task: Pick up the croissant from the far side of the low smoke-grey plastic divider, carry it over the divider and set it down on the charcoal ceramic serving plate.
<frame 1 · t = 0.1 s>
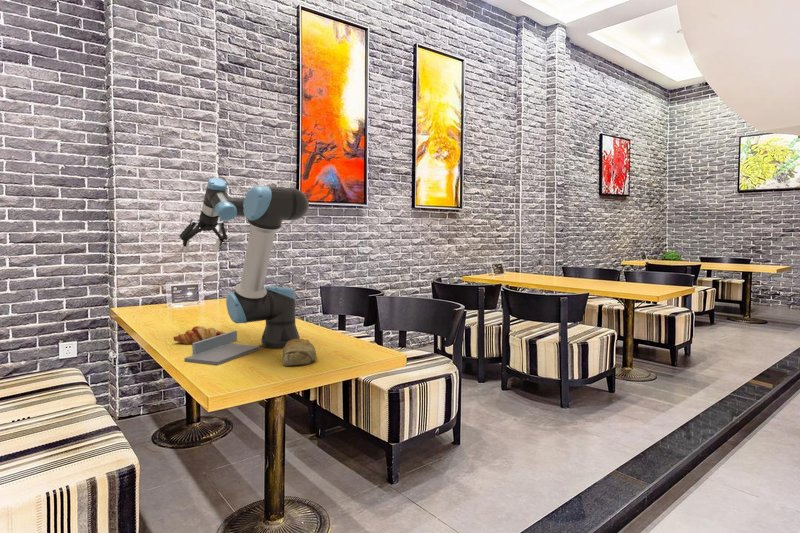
hand: (200, 251, 222), 36 cm above the table, tool tilted 35°, fingers open, 13 cm apart
serving plate: (224, 354, 181), on the table
pastry: (298, 362, 173), on the table
croissant: (202, 342, 201), on the table
divider: (216, 346, 193), on the table
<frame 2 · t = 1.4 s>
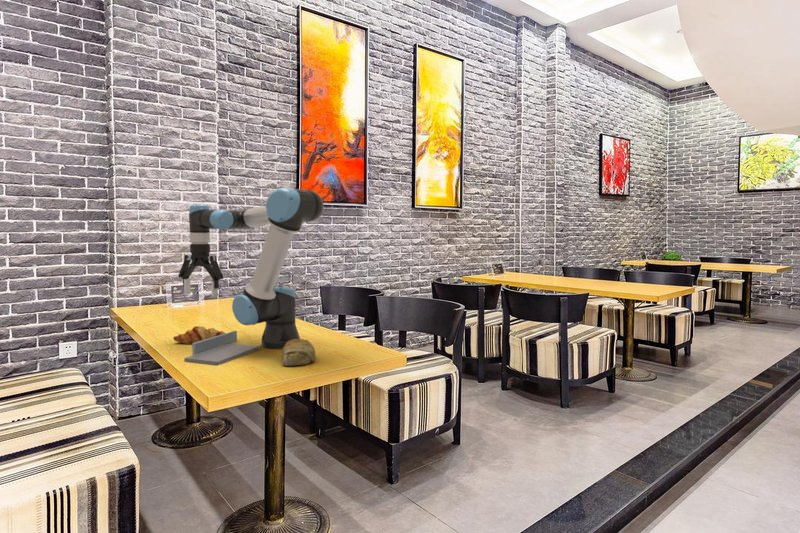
hand: (201, 295, 200), 19 cm above the table, tool pointing down, fingers open, 13 cm apart
nothing on the table moved.
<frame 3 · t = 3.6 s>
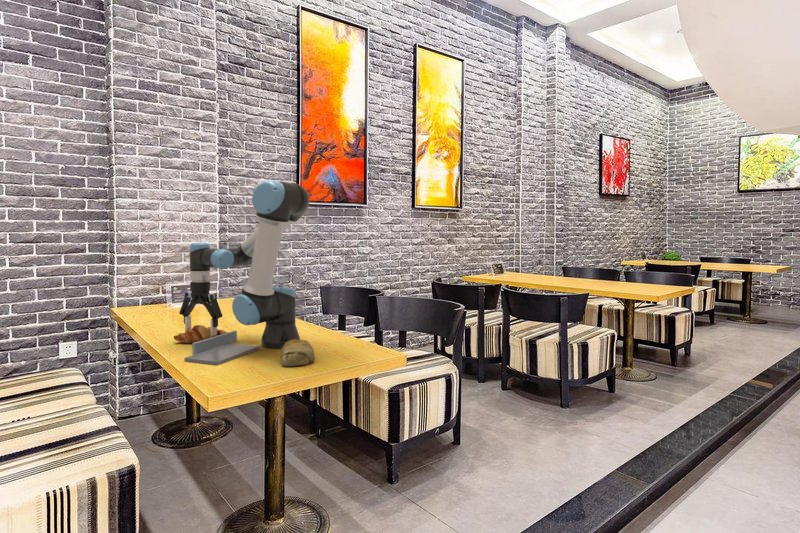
hand: (200, 333, 201), 3 cm above the table, tool pointing down, fingers closed on croissant, 12 cm apart
croissant: (202, 341, 202), on the table, touching gripper
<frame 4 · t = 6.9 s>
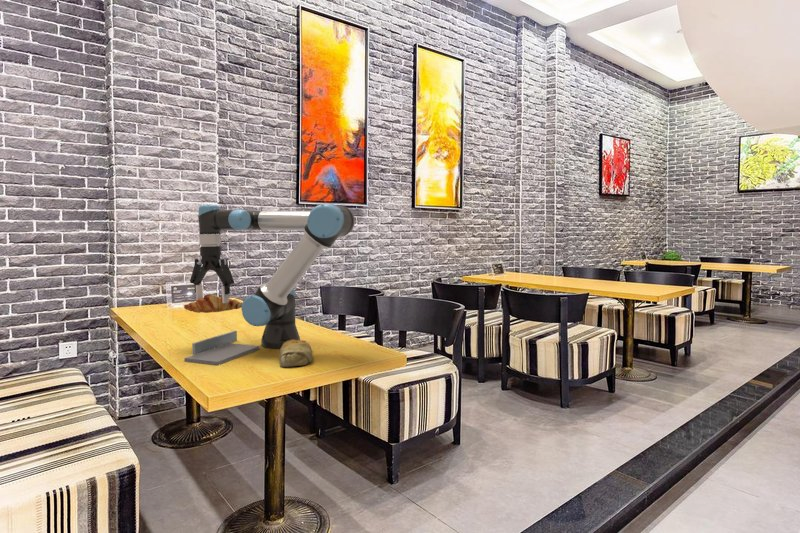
hand: (212, 302, 189), 18 cm above the table, tool pointing down, fingers closed on croissant, 12 cm apart
croissant: (214, 311, 190), point 14 cm above the table, touching gripper
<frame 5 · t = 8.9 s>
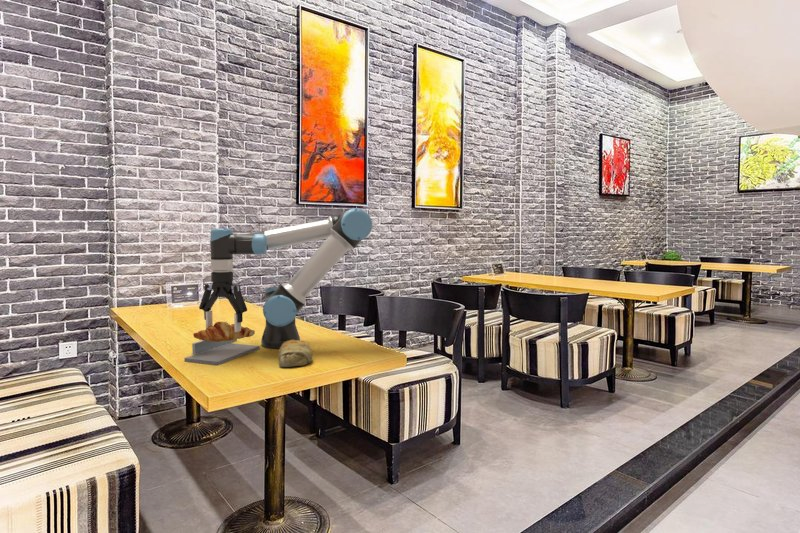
hand: (223, 330, 180), 9 cm above the table, tool pointing down, fingers closed on croissant, 12 cm apart
croissant: (225, 340, 181), point 5 cm above the table, touching gripper
when the fingers open (6 cm above the table, at t = 10.2 s): croissant stays where it is, resting on serving plate.
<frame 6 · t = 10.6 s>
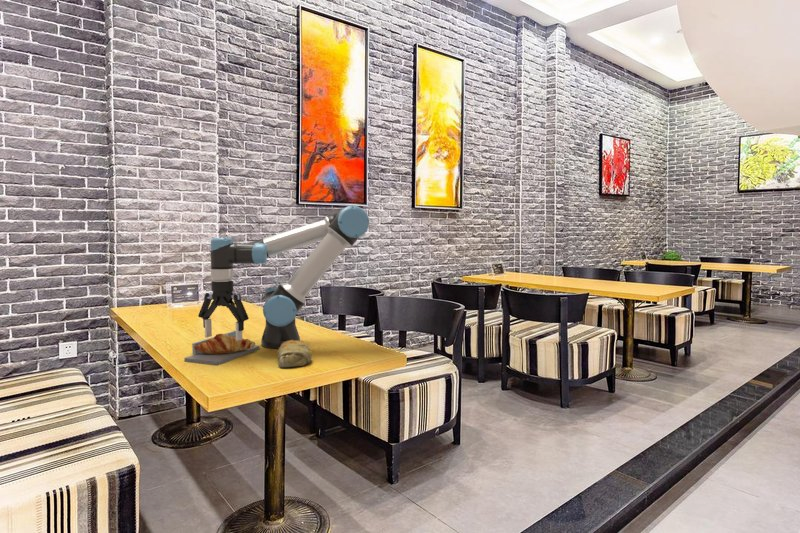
hand: (223, 338, 180), 6 cm above the table, tool pointing down, fingers open, 13 cm apart
croissant: (225, 352, 181), point 1 cm above the table, touching serving plate
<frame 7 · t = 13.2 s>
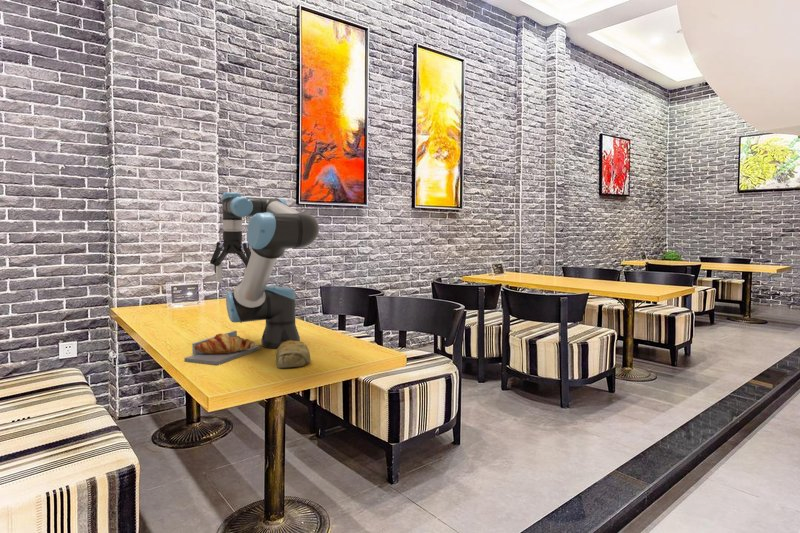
hand: (233, 282, 204), 24 cm above the table, tool pointing down, fingers open, 13 cm apart
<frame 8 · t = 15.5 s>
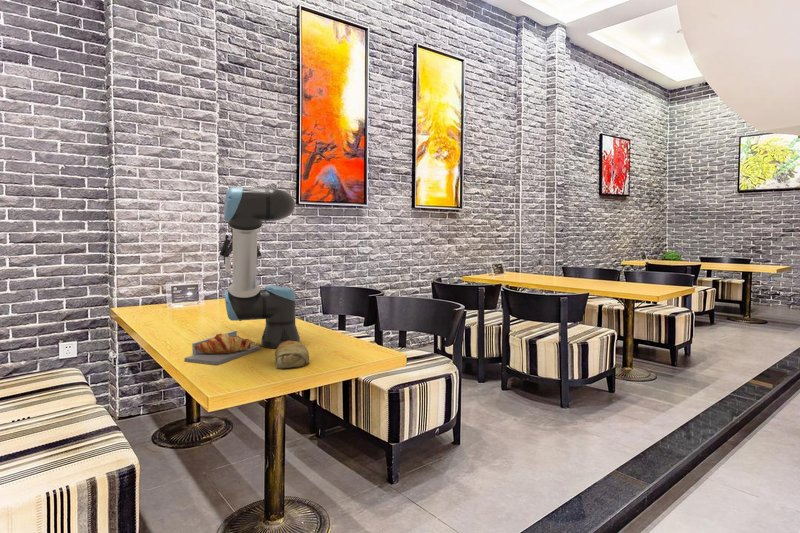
hand: (240, 272, 220), 27 cm above the table, tool pointing down, fingers open, 13 cm apart
at the end: croissant inside the target area on the serving plate (0.7 cm from its centre), point 1.0 cm above the serving plate's base; the gripper is holding nothing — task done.
